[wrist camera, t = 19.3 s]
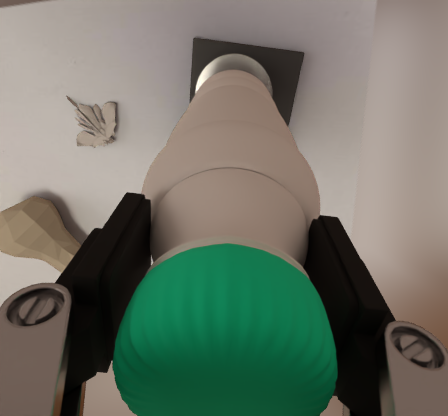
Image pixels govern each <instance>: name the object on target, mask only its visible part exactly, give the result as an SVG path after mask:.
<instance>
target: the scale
mask: <svg viewBox="0 0 448 416" xmlns="http://www.w3.org/2000/svg"><path fill="white" fill-rule="evenodd" d="M230 53H239V54H244V55H247V56H250V57H251V58H253V59H255V60H256V61H258V62H259V63H260V64H261V65H262V66H263V68H264V69H265V70H266V72H267V74H268V75H269V78H270V80H271V84H272V91H273V96H272V99H273V101H274V103H275V105H276V107H277V109H278V112H279V113H280V115H281V116H282V118H283V120H284V121H285V123H286V125H287V127H288V125H289V120H290V116H291V111H292V107H293V102H294V98H295V93H296V89H297V84H298V80H299V75H300V71H301V66H302V62H303V57H304V53H303V52H298V51H290V50H283V49H276V48H268V47H261V46H253V45H246V44H238V43H231V42H223V41H216V40H209V39H201V38H194V39H193V55H192V72H191V88H190V103H191V101H192V99H193V98H194V96H195V90H196V84H197V81H198V78H199V76H200V74H201V72H202V71H203V69H204V68H205V67H206V66H207V65H208V64H209V63H210V62H211V61H212V60H214V59H215V58H217V57H219V56H222V55H225V54H230Z"/></svg>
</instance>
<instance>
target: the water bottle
mask: <svg viewBox="0 0 448 416" xmlns="http://www.w3.org/2000/svg"><path fill="white" fill-rule="evenodd" d="M141 194H144V195H145V199H150V200H151V227H150V251H151V255H152V259H153V262H154V263H153V264H152V265H151V267H150V268H149V269H148V271H147V273H146V275H145V277H144V278H143V279H142V281H141V282H140V284H139V285H138V286H137V288H136V290H135V292H134V294H133V296H132V298H131V300H130V302H129V304H128V306H127V308H126V311H125V313H124V316H123V319H122V321H121V324H120V327H119V330H118V334H117V337H116V342H115V350H114V354H113V363H112V364H113V371H114V375H115V381H116V385H117V388H118V390H119V391H120V394H121V397H122V399H123V401H124V402H125V403H126V404H127V405H128V407H129V409H130V410H131V411H132V412H133V413H134V414H136V415H137V416H320V414H321V412H323V411H324V410H325V409H326V408H327V406H328V403H329V401H330V399H331V398H332V396H333V393H334V390H335V382H336V380H337V374H338V370H337V359H336V348H335V343H334V339H333V334H332V331H331V327H330V324H329V320H328V317H327V314H326V311H325V308H324V305H323V303H322V301H321V298H320V296H319V294H318V292H317V290H316V289H315V287H314V285H313V284H312V283H311V281H310V279H309V276H308V274H307V273H306V271H305V270H304V268H303V266H304V264H305V260H306V257H307V252H308V244H309V233H308V232H309V228H310V225H311V222H312V220H313V219H318V217H319V216H320V197H319V191H318V186H317V182H316V179H315V177H314V174H313V172H312V170H311V168H310V166H309V164H308V163H307V161H306V159H305V158H304V157H303V155H302V154H301V153H300V152H299V150H298V148H297V146H296V143H295V141H294V139H293V136H292V134H291V132H290V130H289V128H288V127H287V125H286V123H285V121H284V120H283V118H282V116H281V115H280V113H279V112H278V109H277V107H276V105H275V103H274V101H273V99H272V97H271V95H270V93H269V91H268V89H267V88H266V86H265V85H264V84H263V83H262V82H261V81H260V80H259V79H258V78H257V77H255V76H254V75H252V74H250V73H247V72H245V71H241V70H225V71H221V72H218V73H216V74H214V75H212V76H211V77H209V78H208V79H207V80H206V81H205V82H204V83H203V84H202V85H201V86H200V87H199V89H198V91H197V92H196V94H195V96H194V98H193V99H192V101H191V103H190V104H189V107H188V109H187V110H186V112H185V113H184V114H183V116H182V117H181V119H180V120H179V122H178V123H177V125H176V127H175V128H174V130H173V132H172V134H171V136H170V138H169V140H168V142H167V144H166V146H165V147H164V148H163V150H162V151H161V152H160V153H159V154H158V156H157V157H156V158H155V160H154V161H153V163H152V165H151V167H150V168H149V170H148V173H147V175H146V178H145V180H144V184H143V188H142V193H141Z"/></svg>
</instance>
